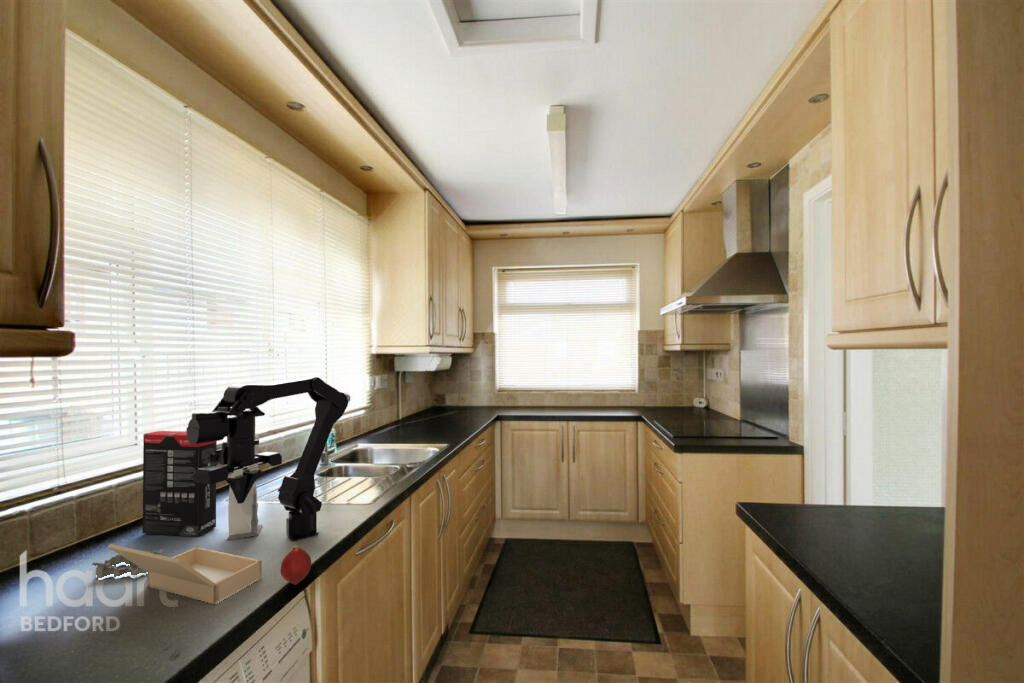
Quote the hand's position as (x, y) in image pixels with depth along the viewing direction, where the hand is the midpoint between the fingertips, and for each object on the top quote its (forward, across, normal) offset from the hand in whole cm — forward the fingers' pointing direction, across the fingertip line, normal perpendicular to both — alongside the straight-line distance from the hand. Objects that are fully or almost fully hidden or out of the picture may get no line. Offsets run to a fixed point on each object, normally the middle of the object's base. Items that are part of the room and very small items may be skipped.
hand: (240, 503), depth 103 cm
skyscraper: (+13, -11, -13) cm, 22 cm away
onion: (+13, +4, +22) cm, 26 cm away
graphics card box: (+13, -6, -30) cm, 33 cm away
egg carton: (+14, +13, -18) cm, 26 cm away
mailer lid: (+5, +19, +3) cm, 20 cm away
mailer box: (+13, +10, +3) cm, 17 cm away
